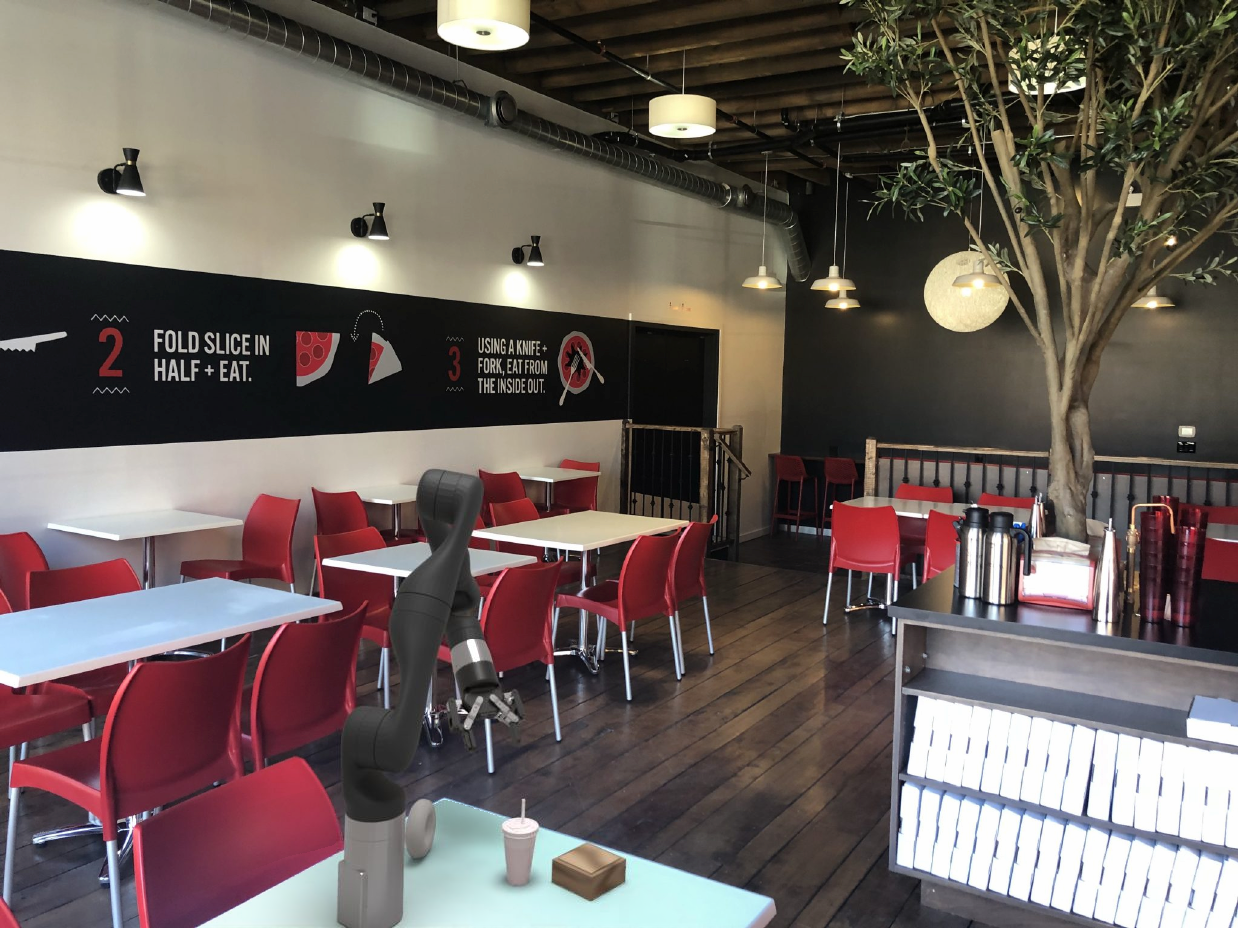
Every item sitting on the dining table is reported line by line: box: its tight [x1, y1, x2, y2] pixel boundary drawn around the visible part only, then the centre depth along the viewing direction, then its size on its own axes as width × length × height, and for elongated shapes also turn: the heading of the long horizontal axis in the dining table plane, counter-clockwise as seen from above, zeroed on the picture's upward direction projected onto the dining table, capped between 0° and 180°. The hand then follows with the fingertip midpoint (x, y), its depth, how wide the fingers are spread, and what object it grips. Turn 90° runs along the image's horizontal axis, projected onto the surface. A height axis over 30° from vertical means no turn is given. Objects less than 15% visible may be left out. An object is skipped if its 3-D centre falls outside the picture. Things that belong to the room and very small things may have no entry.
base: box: [550, 841, 627, 902], centre depth 162 cm, size 9×9×4 cm
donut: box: [405, 798, 437, 859], centre depth 169 cm, size 10×4×10 cm, turn 174°
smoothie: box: [500, 798, 540, 887], centre depth 162 cm, size 6×6×14 cm
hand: (495, 747), depth 171 cm, fingers open, 8 cm apart
